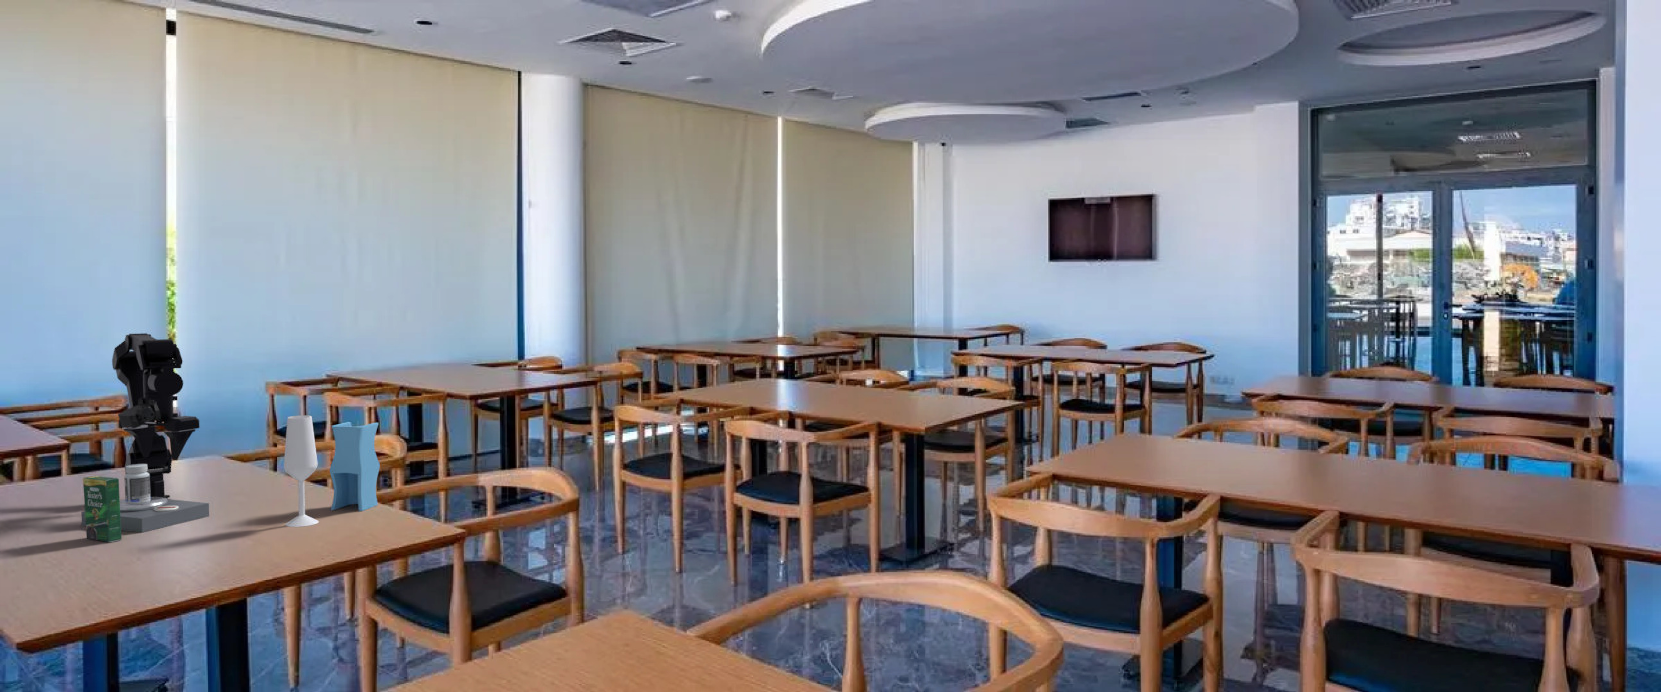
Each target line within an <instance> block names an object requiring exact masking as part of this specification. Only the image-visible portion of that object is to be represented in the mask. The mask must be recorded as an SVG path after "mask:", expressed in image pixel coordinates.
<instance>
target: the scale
mask: <svg viewBox="0 0 1661 692" xmlns="http://www.w3.org/2000/svg"><path fill="white" fill-rule="evenodd" d="M206 517H210V503H209V502H202V501H190V500H180V499H170V498H167V505H166V506H161V507H157V508H154V509H151V510H145V511H135V512H120V518H121V531H127V532H135V533H136V532H137V533H145V532H150V531H153V530H159V529H163V528H165V527H166V528H167V527H171V526H173V525H178V524H182V523H187V522H191V521H195V520H199V519H203V518H206ZM81 526H83V527H86V519H85V510H84V511H81Z"/></svg>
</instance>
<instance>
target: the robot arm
mask: <svg viewBox="0 0 1661 692" xmlns="http://www.w3.org/2000/svg"><path fill="white" fill-rule="evenodd" d="M111 362H112V364H111V365H112V369H113V371H115V373H116V378H117V379H118V381H120V382H121V384H123V385H124V386H125V387H126V390H127V396H128V404H129V408H128V409H126V410H124V411H122V412H120V413H118V414H117V416H118V417H117V418H118V424H119V425H118V426H119V428H123V431H125V432H127V433H129V434H130V435H132V436H133V438H134V439H133V441H132V443H131V445H130V448H129V450H128V453H127V455H126V456H127V457H126V460H125V464H124V472H125V475H126V474H127V473H126V466H128V465H134V464H147V468H148V469H147V471H146V472H148V473H149V474H150V495H151V497H163V498H167V499H169V498H170V497H171V495H170V494H165V480H164V475H165V474H169V475H170V473H172V462H173V461H175V460H176V461H177V460H178V459H179V458H180V456H181V454H182V451H184V450H183V449H184V448H185V446H186V443H187V442H188V441H189V439H190V437H191V435H192V434H193V433H195V432H196V429H199V428H201V427H200V419H199V418H198V417H196V416H191V415H190V416H189V415H183V416H182V415H181V416H179V413H178V412H174V401H178V394H179V393H180V392H181V391H182V389H183V387H184V380H183V379H182V376H181V375H180V374H178V373H177V372H175V371H174V370H175V369H181V368H182V365H183V362H184V361H183V357H182V355H181V352H180V348H179V347H178V344H177V343H174V340H173V339H171V338H169V339H168V338H167V339H164V338H163V339H158V338H157V339H156V338H155V337H153V336H152V335H151V334H148V332H147V333H143V332H141V333H128V334H125V338H124V340H123V341H122V342H121V343H119V344H118V345H116V346H115V347H114V349H113V354H112V359H111ZM156 426H157V427H163V428H164V429H165V430H166V431H163V433H164V434H165V435H166V436H167V437H168V438H169V446H170V447H169V448H168V447H167V442H166V438H165V436H164V435H162V434H161V435H160V434H158V433H157V430H156Z"/></svg>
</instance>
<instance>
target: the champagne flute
mask: <svg viewBox="0 0 1661 692" xmlns="http://www.w3.org/2000/svg"><path fill="white" fill-rule="evenodd" d="M286 422H287V423H286V431H285V432H286V433H285V447H284V459H283V468H284V470H285V472H286V473H287V474H288V475H289V476H290V477H291V478H293V479H294V480H296V481H298V484H297V486H298V489H297V490H298V515H297V516H296V517H294V518H292V519H290V520H289V521H288V522H286V523H285V524H284V526H286V527H290V528H297V527H298V528H299V527H309V526H313V525H317V524H318V523H320V522H319V520H317V519H315V518H313V517H311V516H308V515H307V514H306V506H305V504H306V503H305V501H306V500H305V498H306V497H305V480H306V479H308V478H310V476H311V475H312V474H314V472H315V471H316V470H317V467H318V465H319V464H318V458H317V457H318V455H317V449H316V441H315V432H314V425H313V418H312V416H311V415H292V416H287V421H286Z"/></svg>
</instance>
